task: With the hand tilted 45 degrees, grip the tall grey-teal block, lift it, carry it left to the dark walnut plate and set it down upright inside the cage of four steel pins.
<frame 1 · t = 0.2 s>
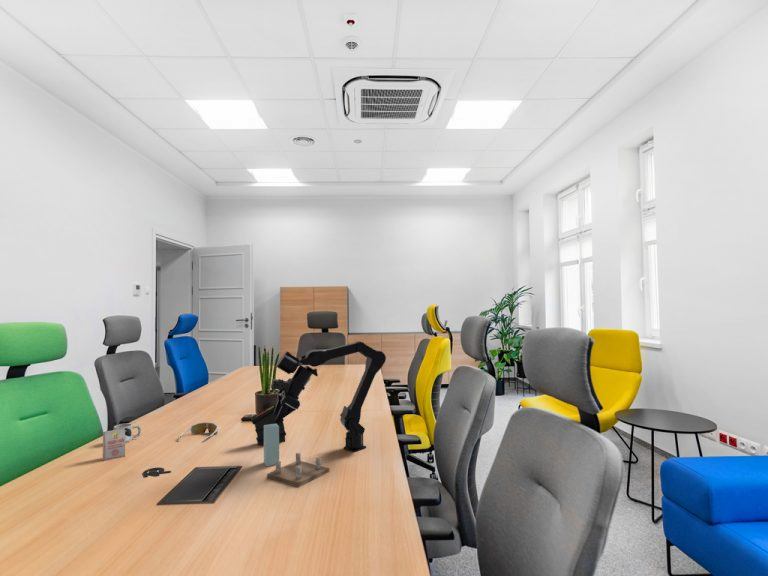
hand: (275, 418, 155), 14 cm above the table, tool tilted 35°, fingers open, 9 cm apart
sunglasses: (199, 438, 182), on the table
black ridged slab: (268, 443, 173), on the table
small printed box: (113, 457, 158), on the table
block: (271, 463, 150), on the table
black flat pronged piece: (162, 475, 142), on the table
mug: (127, 441, 179), on the table
pin stand: (298, 474, 139), on the table
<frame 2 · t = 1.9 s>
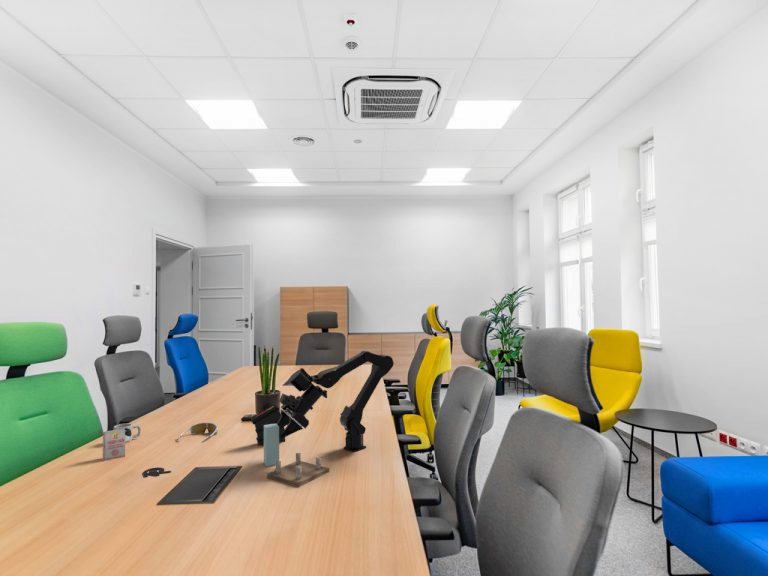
hand: (277, 434, 151), 10 cm above the table, tool tilted 45°, fingers open, 9 cm apart
nothing on the table moved.
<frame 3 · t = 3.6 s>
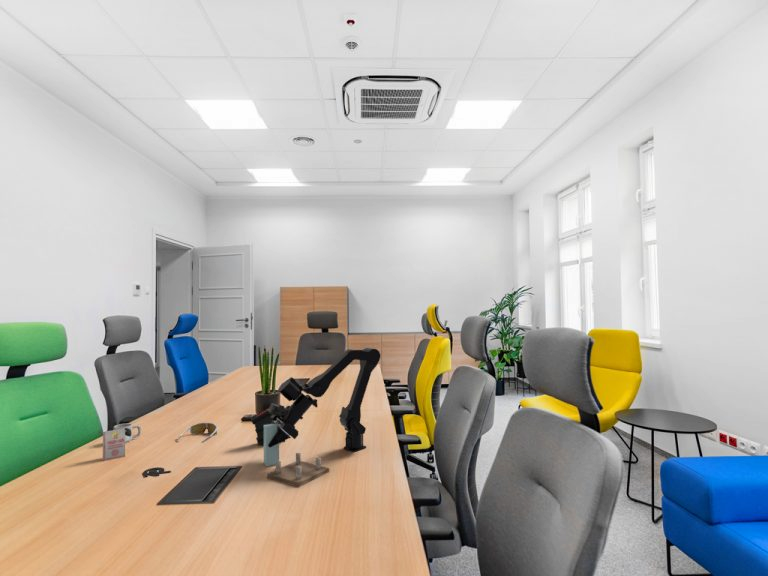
hand: (267, 444, 149), 7 cm above the table, tool tilted 45°, fingers closed on block, 4 cm apart
block: (271, 463, 150), on the table, touching gripper
everything else where it was.
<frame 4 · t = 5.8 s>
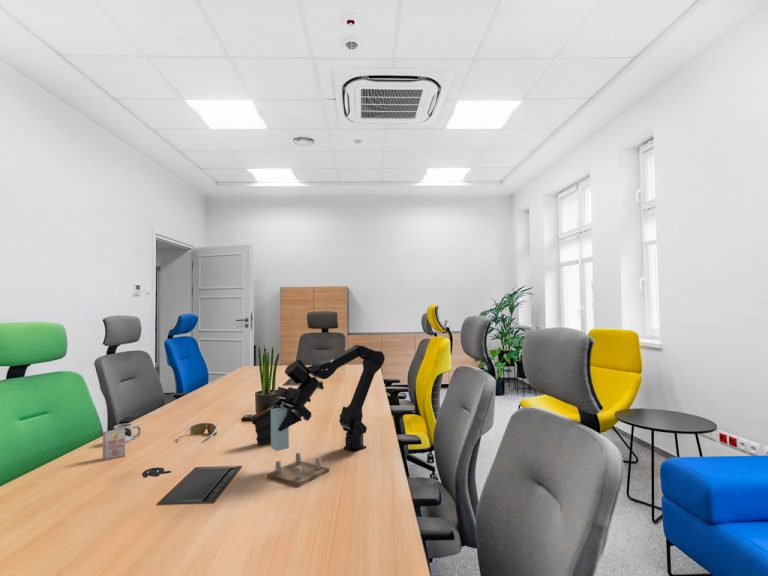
hand: (276, 429, 144), 13 cm above the table, tool tilted 45°, fingers closed on block, 4 cm apart
block: (279, 448, 145), point 7 cm above the table, touching gripper
everything else where it was.
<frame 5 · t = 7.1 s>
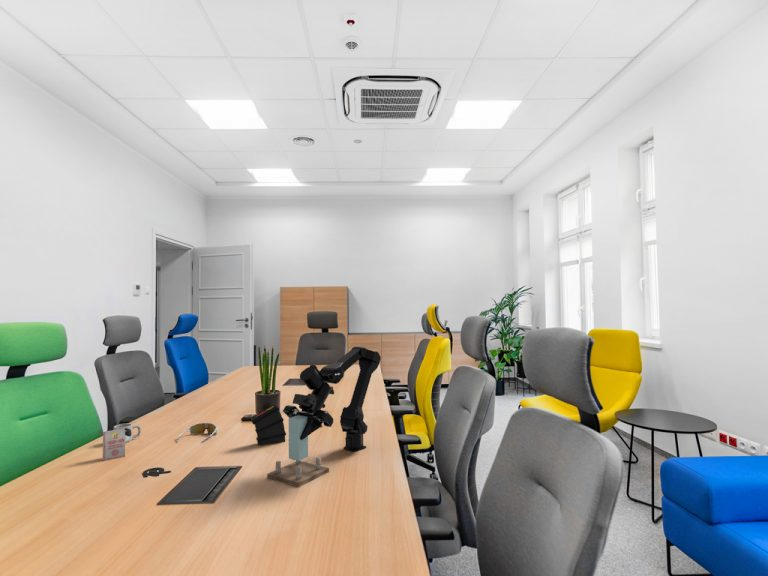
hand: (295, 438, 138), 12 cm above the table, tool tilted 45°, fingers closed on block, 4 cm apart
block: (298, 457, 139), point 5 cm above the table, touching gripper
everything else where it was.
when the fingers open (9 cm above the table, at t = 8.1 s): block stays where it is, resting on pin stand.
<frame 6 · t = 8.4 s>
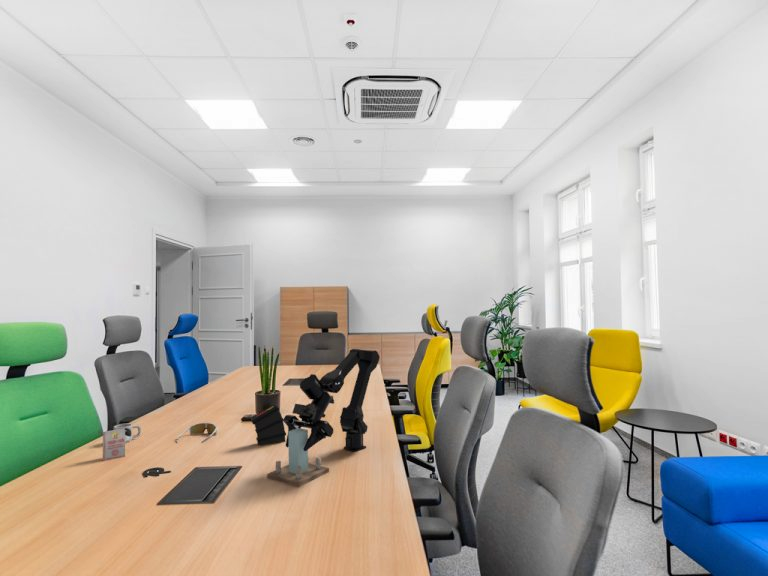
hand: (295, 448, 138), 9 cm above the table, tool tilted 45°, fingers open, 8 cm apart
block: (298, 470, 139), point 1 cm above the table, touching pin stand
everything else where it was.
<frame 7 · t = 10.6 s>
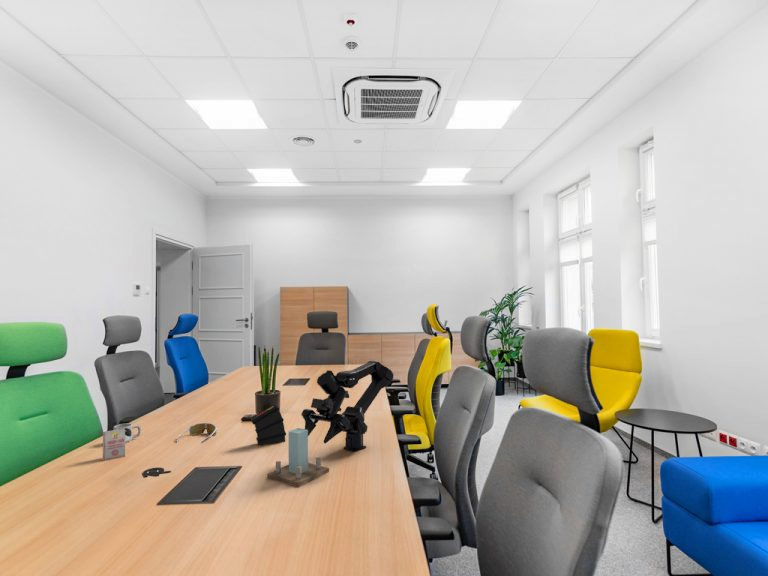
hand: (314, 440, 146), 9 cm above the table, tool tilted 45°, fingers open, 9 cm apart
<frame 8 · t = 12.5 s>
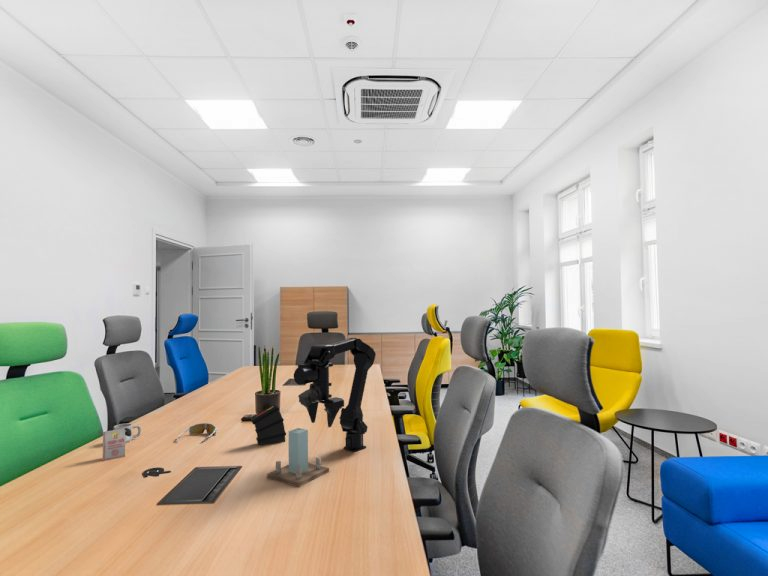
hand: (321, 424, 150), 13 cm above the table, tool pointing down, fingers open, 9 cm apart
at the end: block 0.1 cm off-centre on the pin stand, point 1.2 cm above the pin stand's base; block tilted 0°; the gripper is holding nothing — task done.
